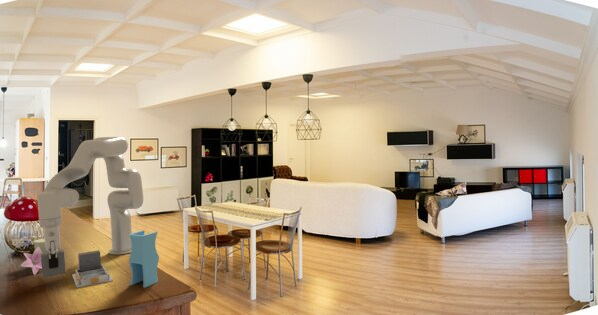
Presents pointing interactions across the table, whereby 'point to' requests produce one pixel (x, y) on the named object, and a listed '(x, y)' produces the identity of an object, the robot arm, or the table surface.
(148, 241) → the blue tall curved block
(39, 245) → the can
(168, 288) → the table surface
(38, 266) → the lily
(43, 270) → the panel
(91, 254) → the rack
